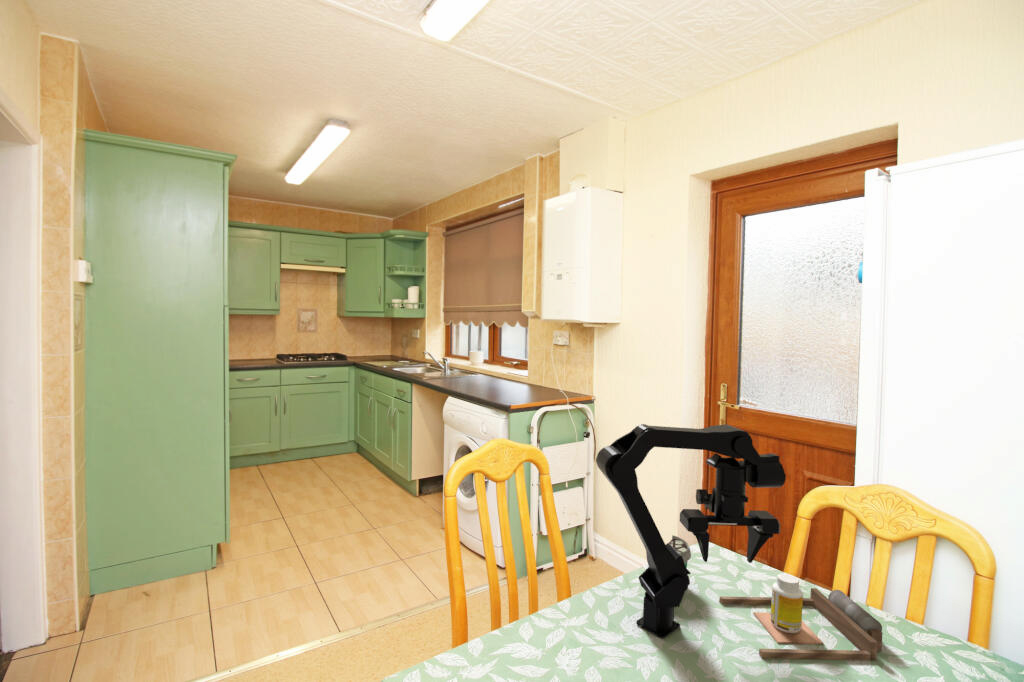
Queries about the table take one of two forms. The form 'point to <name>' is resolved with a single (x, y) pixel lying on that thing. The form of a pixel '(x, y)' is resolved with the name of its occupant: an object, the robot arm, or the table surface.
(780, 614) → the supplement bottle
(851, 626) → the frame
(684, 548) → the food container
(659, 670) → the table surface
